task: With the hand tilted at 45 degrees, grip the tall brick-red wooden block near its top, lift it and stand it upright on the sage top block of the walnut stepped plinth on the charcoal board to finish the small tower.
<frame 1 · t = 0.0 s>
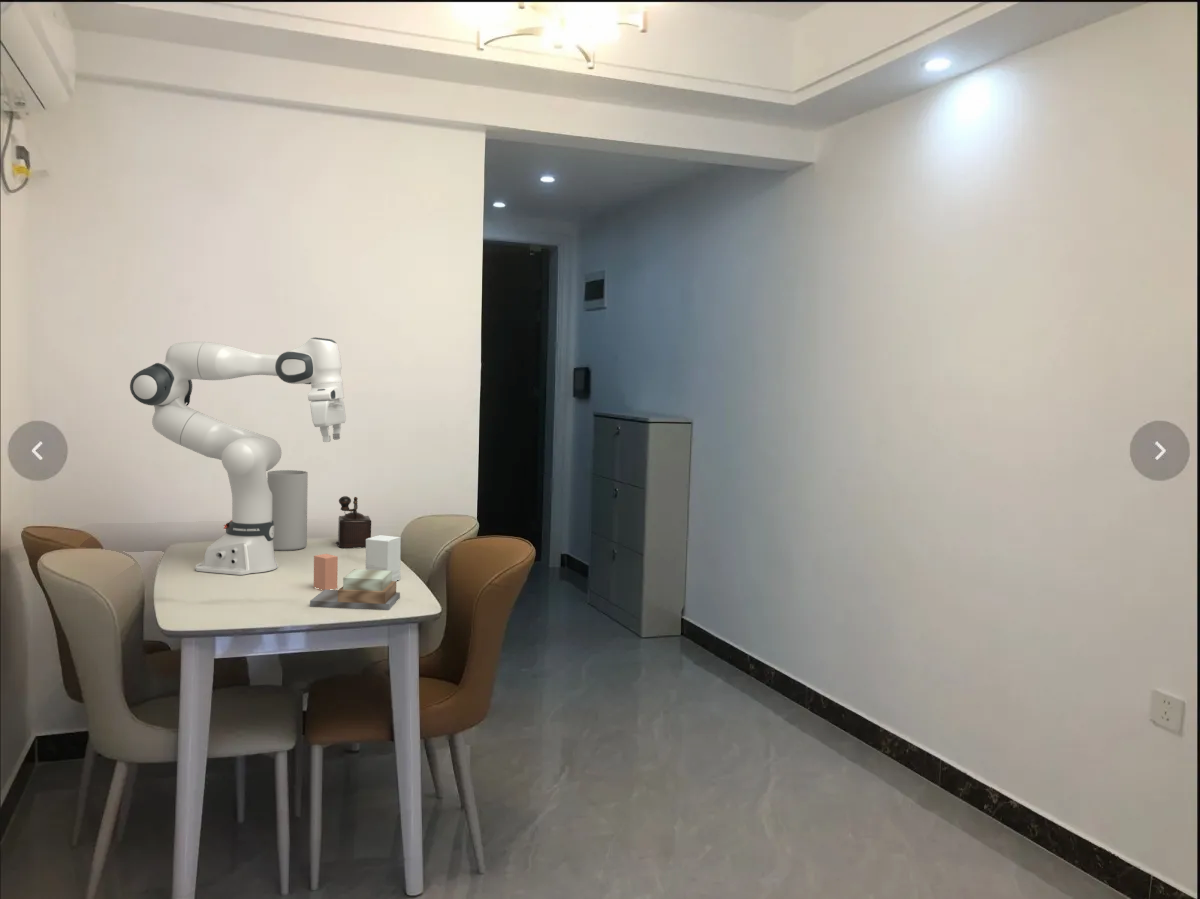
hand: (331, 440, 265), 39 cm above the table, tool pointing down, fingers open, 8 cm apart
build plinth: (367, 602, 235), on the table
cylinder vase: (286, 548, 300), on the table
supplement box: (382, 581, 259), on the table
manual coffee grinder: (353, 547, 306), on the table
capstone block: (325, 588, 248), on the table
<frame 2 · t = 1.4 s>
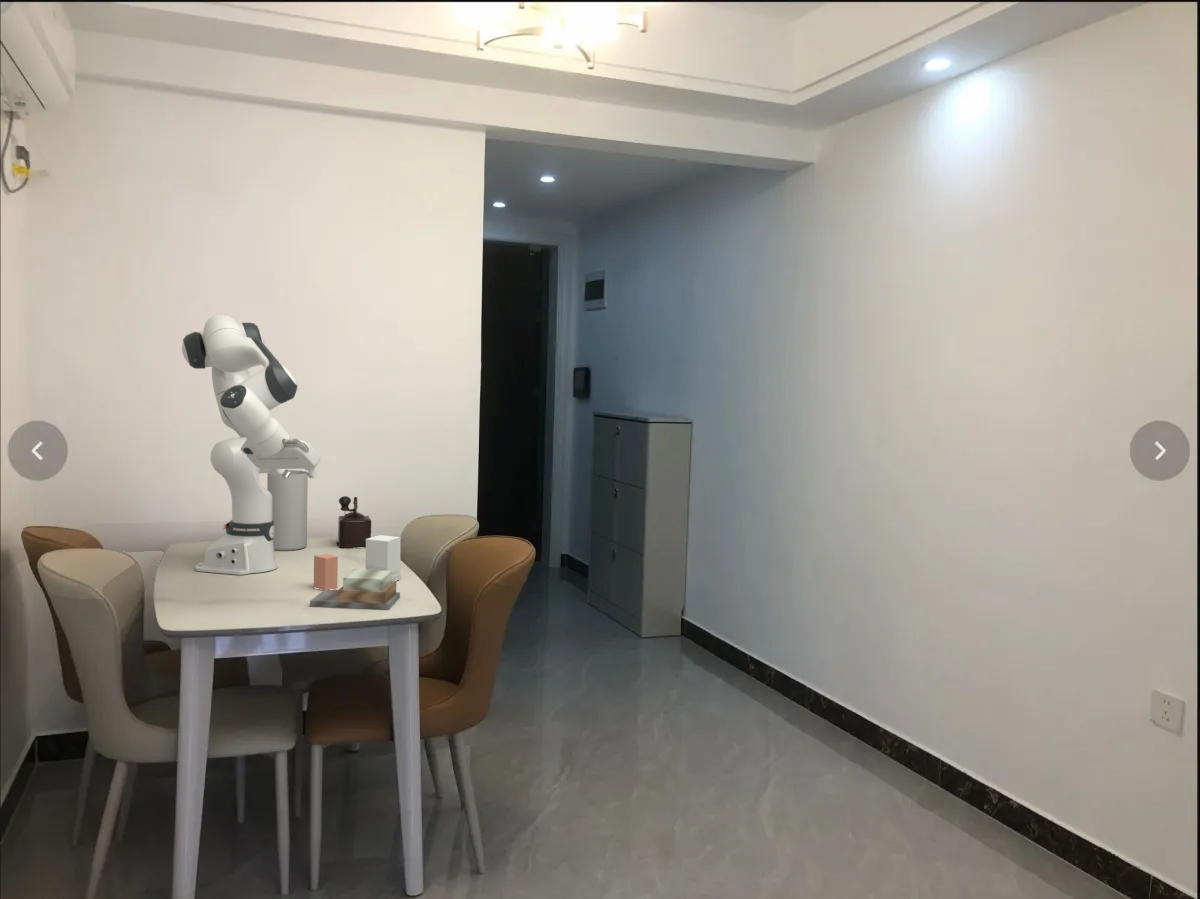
hand: (300, 476, 238), 31 cm above the table, tool tilted 45°, fingers open, 8 cm apart
nothing on the table moved.
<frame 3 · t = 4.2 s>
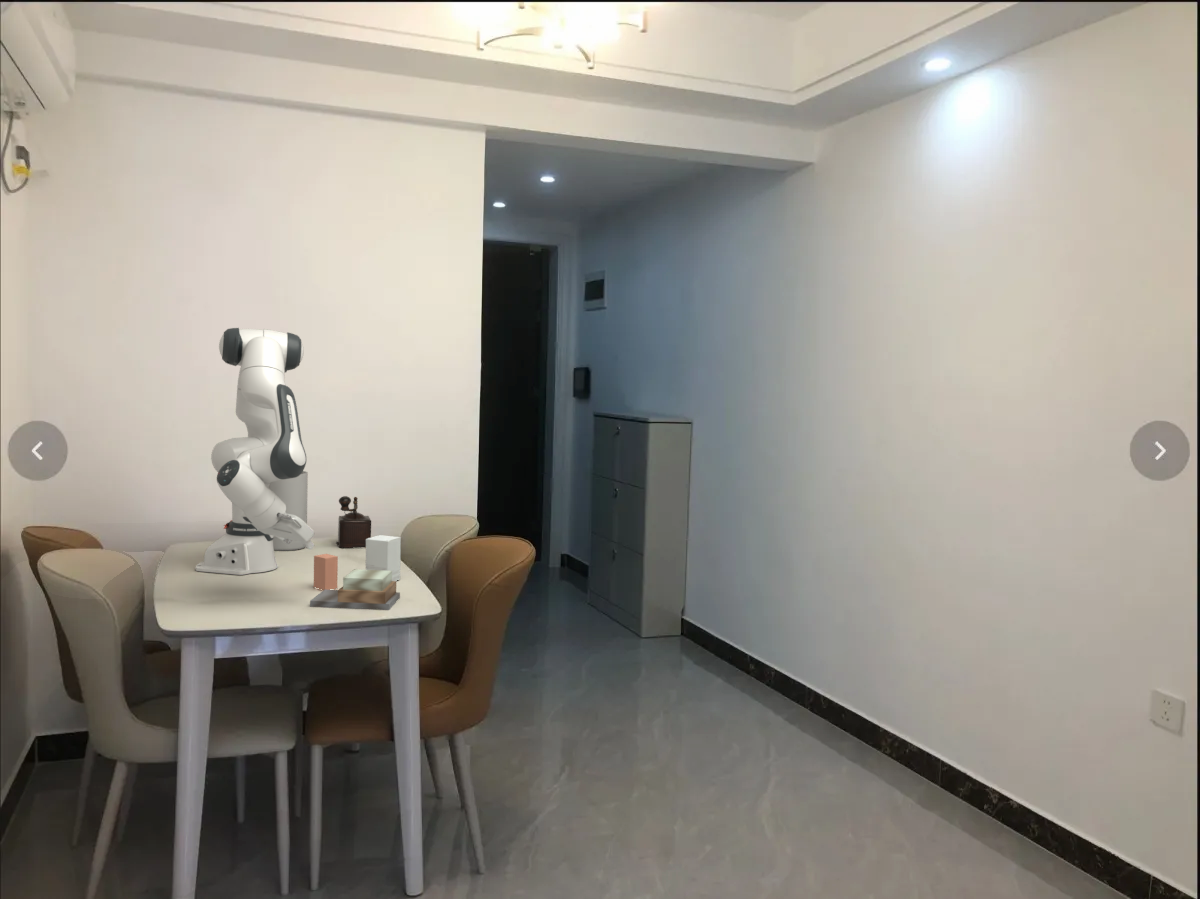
hand: (300, 544, 240), 13 cm above the table, tool tilted 45°, fingers open, 8 cm apart
nothing on the table moved.
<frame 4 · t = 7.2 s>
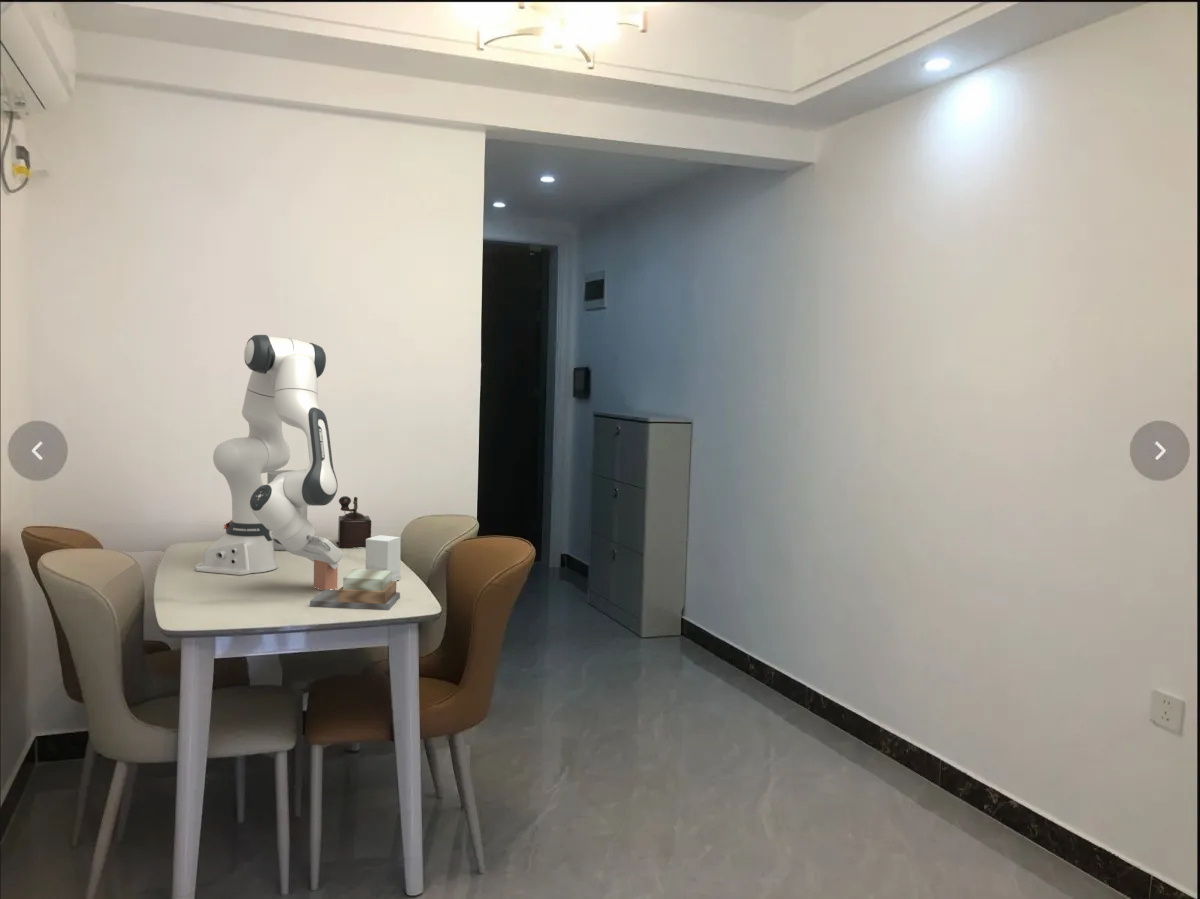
hand: (327, 565, 248), 6 cm above the table, tool tilted 45°, fingers closed on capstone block, 5 cm apart
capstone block: (325, 588, 248), on the table, touching gripper
everything else where it was.
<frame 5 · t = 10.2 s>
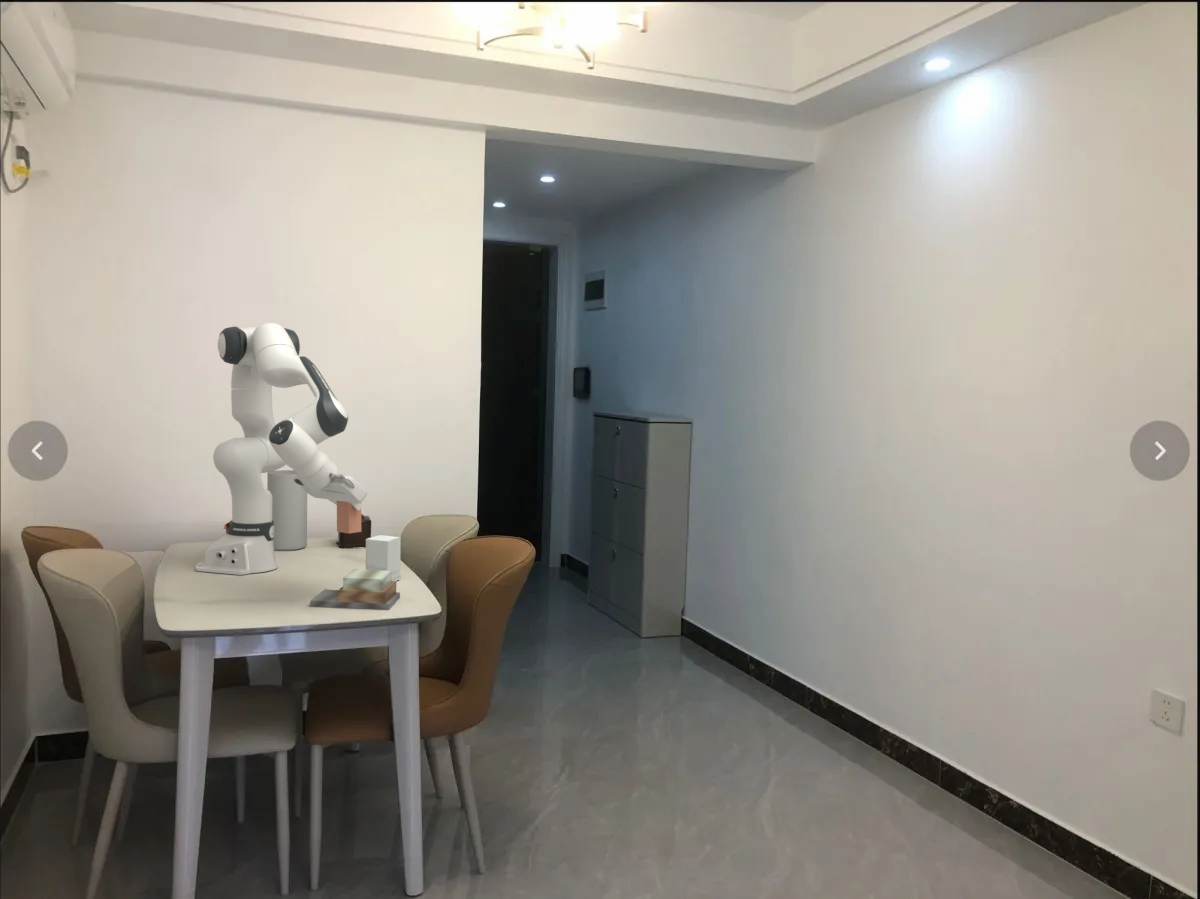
hand: (351, 507, 239), 24 cm above the table, tool tilted 45°, fingers closed on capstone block, 5 cm apart
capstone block: (349, 531, 239), point 17 cm above the table, touching gripper
everything else where it was.
when the fingers open (15 cm above the table, at t = 13.6 s): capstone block drops 1 cm, resting on build plinth.
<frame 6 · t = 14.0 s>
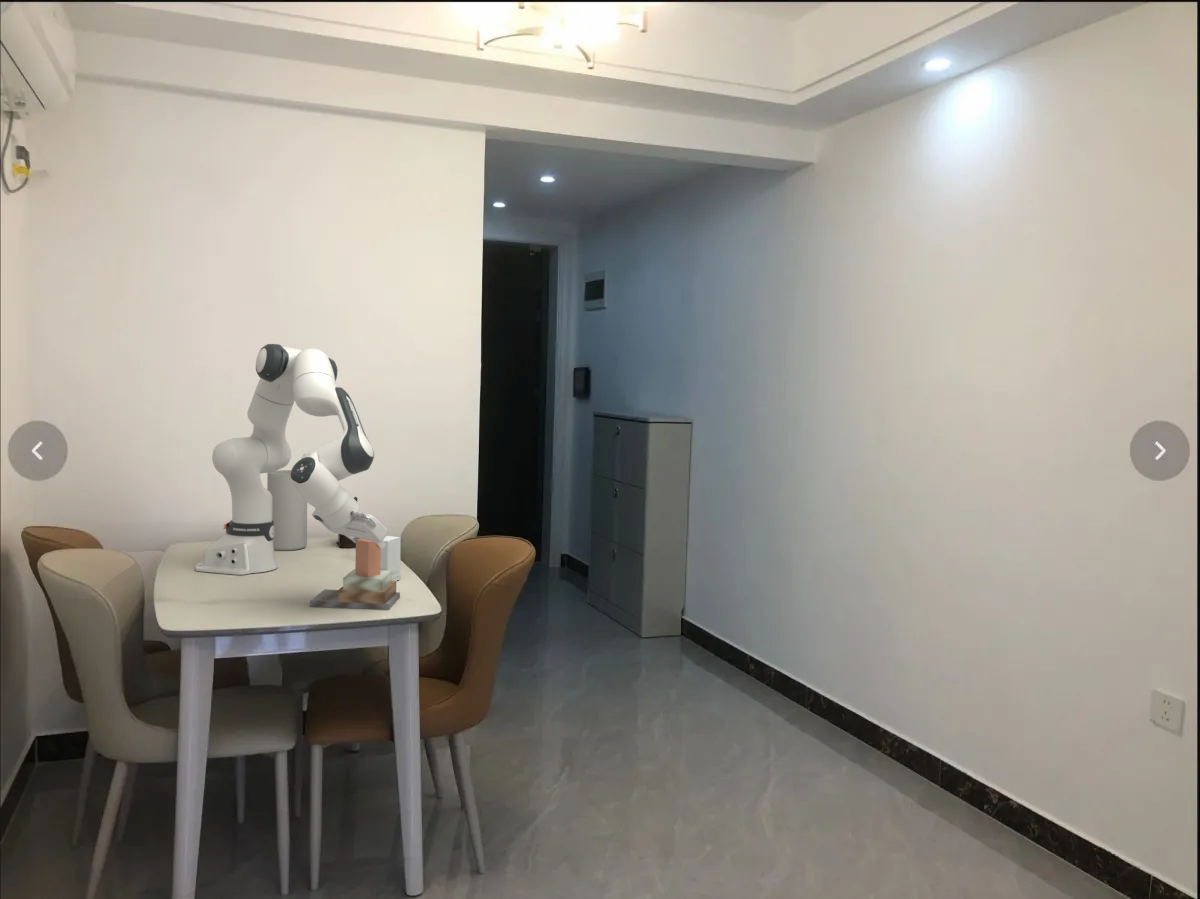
hand: (370, 543, 234), 15 cm above the table, tool tilted 45°, fingers open, 8 cm apart
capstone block: (367, 574, 234), point 7 cm above the table, touching build plinth
everything else where it was.
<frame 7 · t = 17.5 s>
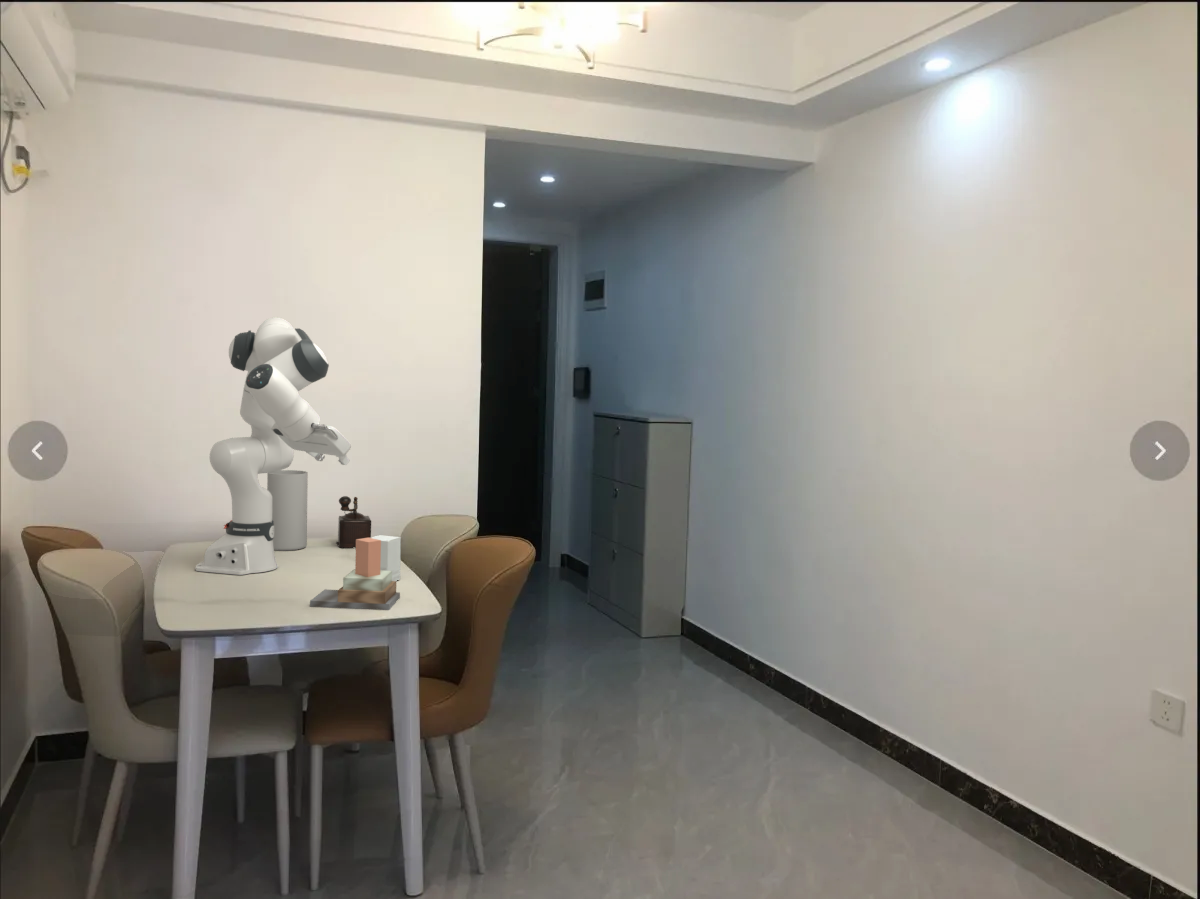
hand: (333, 461, 223), 37 cm above the table, tool tilted 45°, fingers open, 8 cm apart
nothing on the table moved.
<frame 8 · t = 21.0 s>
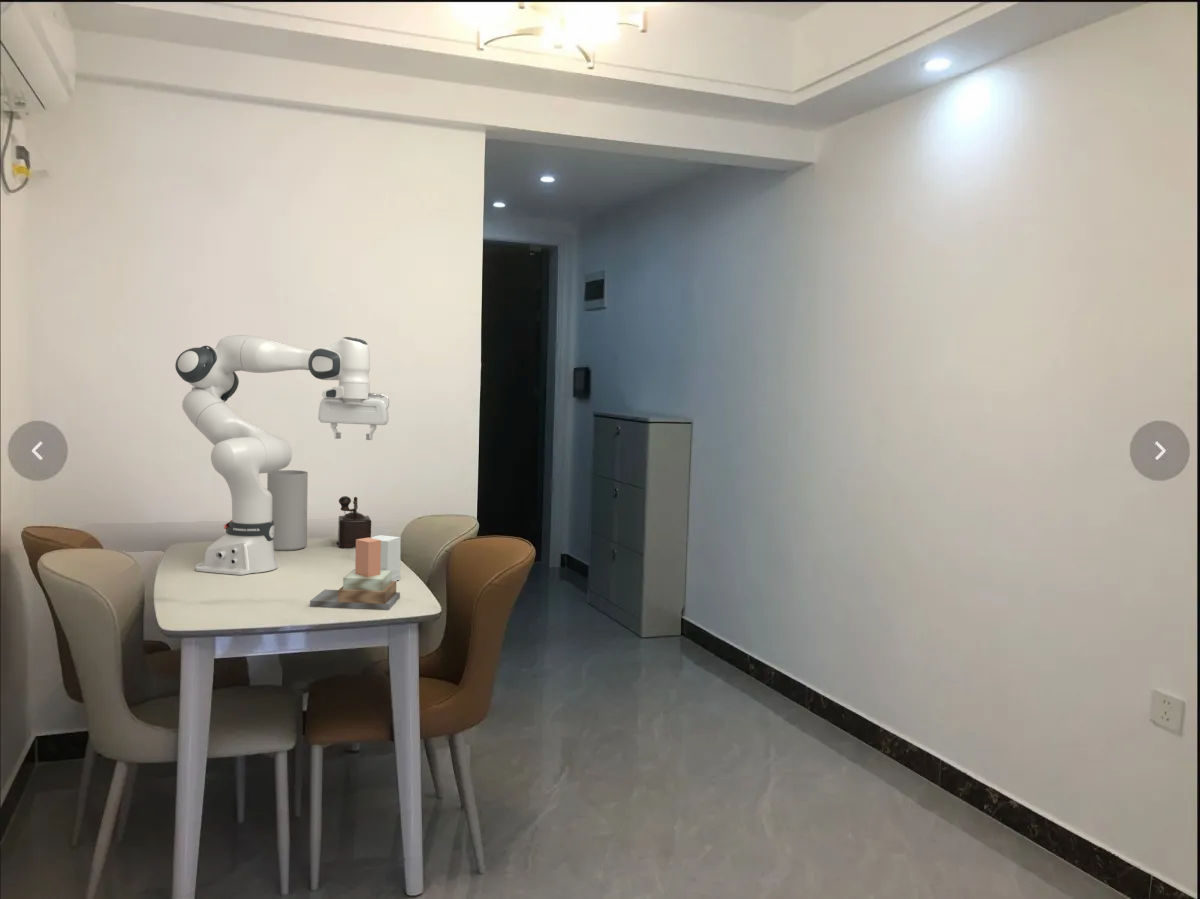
hand: (353, 439, 269), 39 cm above the table, tool pointing down, fingers open, 8 cm apart
nothing on the table moved.
at the end: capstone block 0.1 cm off-centre on the build plinth, point 7.5 cm above the build plinth's base; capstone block tilted 0°; the gripper is holding nothing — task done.
